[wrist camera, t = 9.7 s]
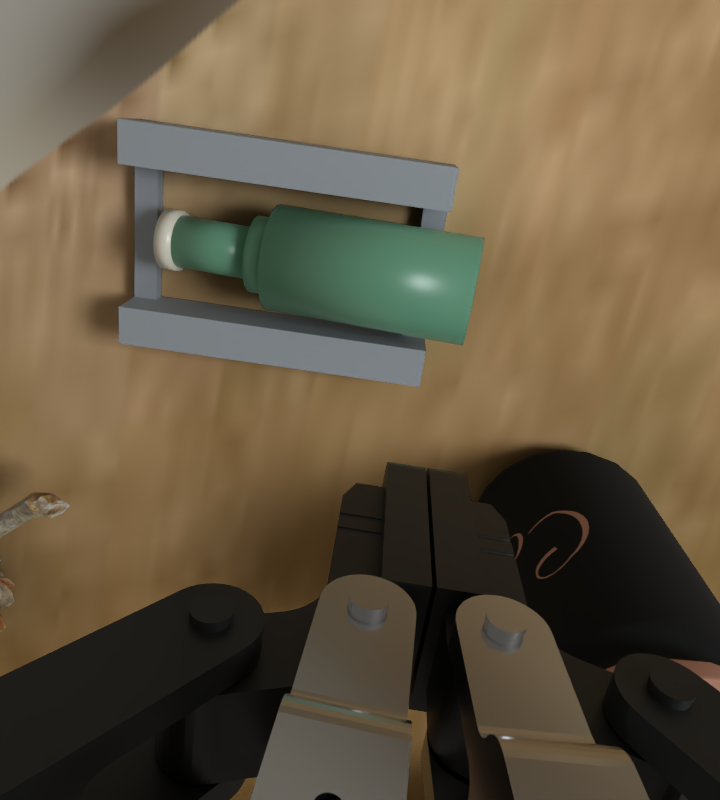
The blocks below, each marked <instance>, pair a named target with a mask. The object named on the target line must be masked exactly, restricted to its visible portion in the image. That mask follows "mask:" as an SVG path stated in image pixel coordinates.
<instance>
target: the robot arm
mask: <svg viewBox="0 0 720 800" xmlns="http://www.w3.org/2000/svg"><path fill="white" fill-rule="evenodd" d="M408 705H409V709H412V710H418V711H424V712H427V731H426V735H425V739H424V743H423V747H422V751H421V766H422V776H423V785H424V795H425V800H720V691H718V690H717V689H716V688H714V687H713V686H712V685H710V684H709V683H708V682H706V681H705V680H704V679H702V678H701V677H700V676H698V675H697V674H696V673H694V672H693V671H691V670H690V669H688V668H686V667H685V666H683V665H681V664H679V663H677V662H675V661H673V660H670V659H667V658H665V657H662V656H658V655H654V654H646V653H636V654H630V655H627V656H625V657H623V658H622V659H620V660H619V662H618V663H617V664H616V667H615V669H614V672H613V673H612V672H610V671H607V670H605V669H602V668H600V667H597V666H595V665H592V664H590V663H587V662H585V661H582V660H580V659H578V658H575V657H573V656H571V655H569V654H567V653H565V652H564V651H562V650H560V649H559V648H558V647H557V644H556V642H555V639H554V637H553V634H552V632H551V630H550V628H549V626H548V625H547V623H546V622H545V621H544V620H543V619H542V618H541V617H540V615H538V614H537V613H536V612H535V611H533V610H532V609H530V608H529V607H527V603H526V599H525V595H524V591H523V587H522V583H521V579H520V575H519V571H518V567H517V563H516V559H515V558H514V551H513V547H512V544H511V543H510V536H509V532H508V528H507V524H506V521H505V520H504V519H503V518H502V516H501V515H500V514H499V513H498V512H497V511H496V510H495V508H494V507H493V506H492V505H491V504H486V503H479V502H473V501H471V496H470V490H469V485H468V479H467V475H466V474H461V473H455V472H448V471H442V470H436V469H429V468H428V469H427V471H426V469H425V468H422V467H416V466H410V465H403V464H397V463H391V462H387V466H386V470H385V475H384V481H383V486H382V487H378V486H371V485H365V484H359V483H356V484H355V485H354V486H353V487H352V488H351V489H350V490H349V491H347V492H346V493H345V494H344V495H343V498H342V504H341V510H340V516H339V521H338V527H337V533H336V539H335V544H334V550H333V556H332V562H331V568H330V573H329V579H328V583H327V586H326V587H325V588H324V589H323V591H322V593H321V595H320V597H319V598H317V599H316V600H315V601H314V602H312V603H310V604H308V605H307V606H304V607H302V608H299V609H295V610H291V611H285V612H275V613H264V612H263V610H262V607H261V605H260V604H259V603H258V601H257V600H256V599H255V598H254V597H253V596H252V595H250V594H249V593H247V592H246V591H244V590H242V589H240V588H237V587H234V586H230V585H225V584H215V583H212V584H200V585H195V586H191V587H188V588H185V589H183V590H180V591H178V592H176V593H174V594H172V595H170V596H168V597H166V598H164V599H162V600H159V601H157V602H155V603H153V604H151V605H149V606H147V607H145V608H143V609H141V610H139V611H137V612H134V613H132V614H130V615H128V616H126V617H124V618H122V619H120V620H118V621H116V622H114V623H112V624H109V625H107V626H105V627H103V628H101V629H99V630H97V631H95V632H93V633H91V634H89V635H86V636H84V637H82V638H80V639H78V640H76V641H74V642H72V643H70V644H68V645H66V646H64V647H61V648H59V649H57V650H55V651H53V652H51V653H49V654H47V655H45V656H43V657H41V658H39V659H36V660H34V661H32V662H30V663H28V664H26V665H24V666H22V667H20V668H18V669H16V670H13V671H11V672H9V673H7V674H5V675H3V676H1V677H0V800H229V799H230V798H232V797H233V796H234V795H235V794H236V793H237V792H238V790H239V789H240V788H241V786H242V784H243V782H244V781H245V779H247V778H253V777H257V780H256V783H255V786H254V789H253V792H252V795H251V799H250V800H407V788H408V775H409V763H410V750H411V737H412V722H411V721H409V720H407V717H408Z"/></svg>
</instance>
